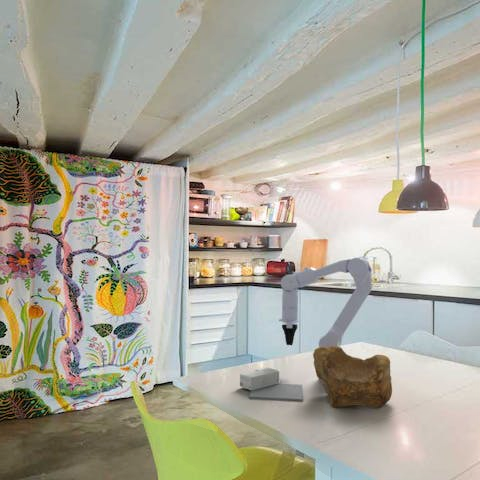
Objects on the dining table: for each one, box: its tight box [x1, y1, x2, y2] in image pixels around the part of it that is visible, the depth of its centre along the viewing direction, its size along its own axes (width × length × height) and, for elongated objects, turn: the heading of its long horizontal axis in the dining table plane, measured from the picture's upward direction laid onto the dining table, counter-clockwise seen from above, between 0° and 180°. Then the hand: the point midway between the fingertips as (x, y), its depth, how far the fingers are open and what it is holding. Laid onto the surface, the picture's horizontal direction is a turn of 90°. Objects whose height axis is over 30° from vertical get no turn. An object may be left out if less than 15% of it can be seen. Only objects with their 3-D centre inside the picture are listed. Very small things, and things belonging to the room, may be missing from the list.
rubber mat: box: [248, 383, 304, 402], centre depth 128 cm, size 16×14×1 cm
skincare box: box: [239, 367, 280, 391], centre depth 133 cm, size 6×4×12 cm
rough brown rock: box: [312, 346, 393, 409], centre depth 119 cm, size 23×17×15 cm
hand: (289, 344), depth 149 cm, fingers closed
